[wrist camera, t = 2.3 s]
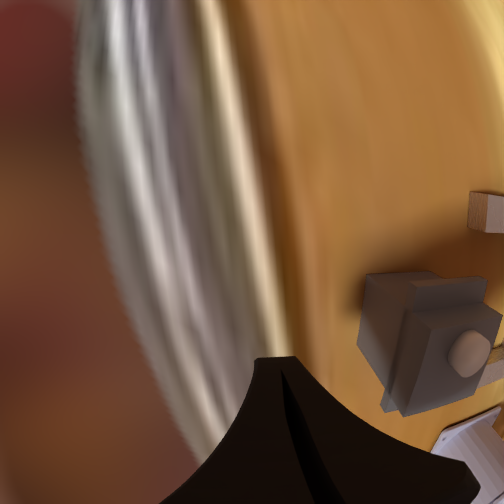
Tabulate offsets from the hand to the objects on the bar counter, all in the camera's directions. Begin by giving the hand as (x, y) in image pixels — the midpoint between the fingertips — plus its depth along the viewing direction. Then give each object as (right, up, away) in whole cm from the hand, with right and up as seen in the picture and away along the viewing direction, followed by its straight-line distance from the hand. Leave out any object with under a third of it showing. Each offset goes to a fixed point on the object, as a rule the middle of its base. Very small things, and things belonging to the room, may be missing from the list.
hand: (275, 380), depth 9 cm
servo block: (+7, +1, +5) cm, 9 cm away
